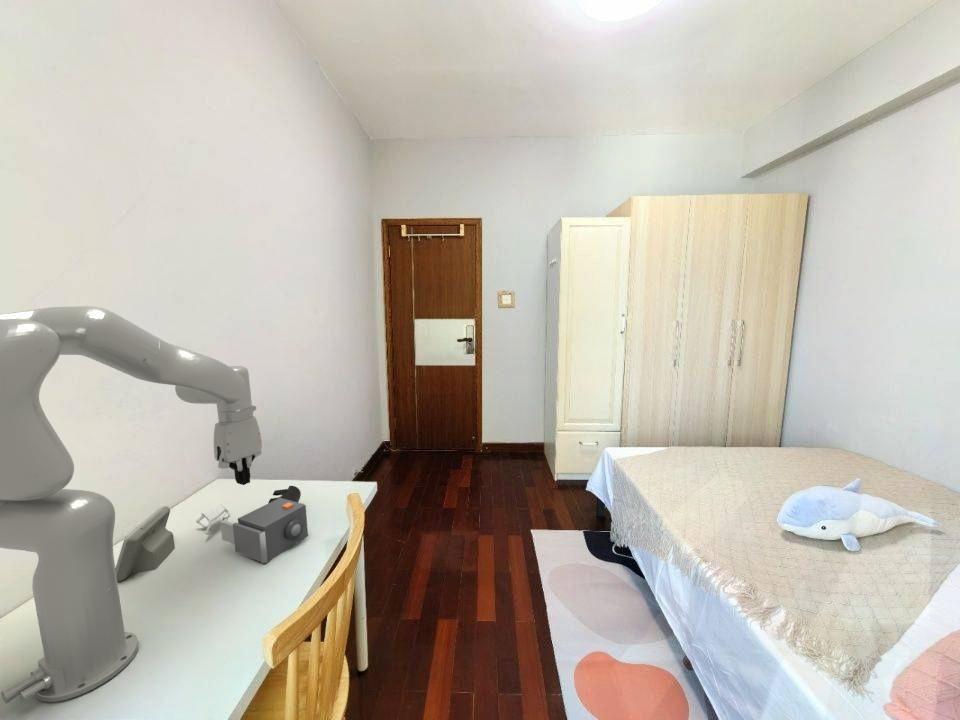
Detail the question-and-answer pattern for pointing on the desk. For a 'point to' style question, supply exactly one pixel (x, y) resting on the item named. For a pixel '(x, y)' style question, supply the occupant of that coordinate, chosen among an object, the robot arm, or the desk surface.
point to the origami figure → (213, 516)
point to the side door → (245, 540)
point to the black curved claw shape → (288, 494)
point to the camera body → (279, 524)
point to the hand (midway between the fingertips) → (243, 482)
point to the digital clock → (146, 545)
